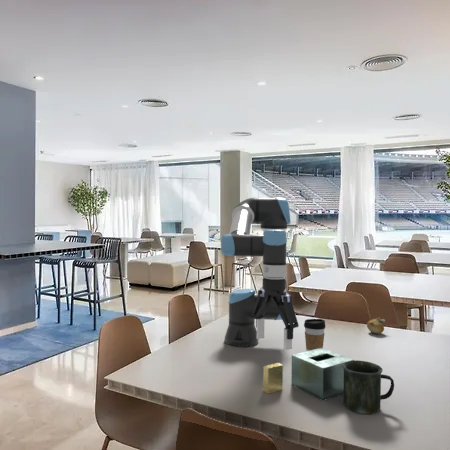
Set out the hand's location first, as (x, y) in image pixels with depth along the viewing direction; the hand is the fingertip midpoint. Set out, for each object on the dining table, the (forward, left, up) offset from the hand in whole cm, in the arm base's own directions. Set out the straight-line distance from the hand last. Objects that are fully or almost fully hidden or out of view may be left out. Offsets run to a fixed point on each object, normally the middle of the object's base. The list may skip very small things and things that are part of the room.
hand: (273, 343), depth 129 cm
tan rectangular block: (0, 0, -15) cm, 15 cm away
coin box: (+7, +15, -15) cm, 22 cm away
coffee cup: (-15, +34, -15) cm, 40 cm away
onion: (-24, +85, -15) cm, 90 cm away
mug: (+24, +16, -15) cm, 33 cm away
